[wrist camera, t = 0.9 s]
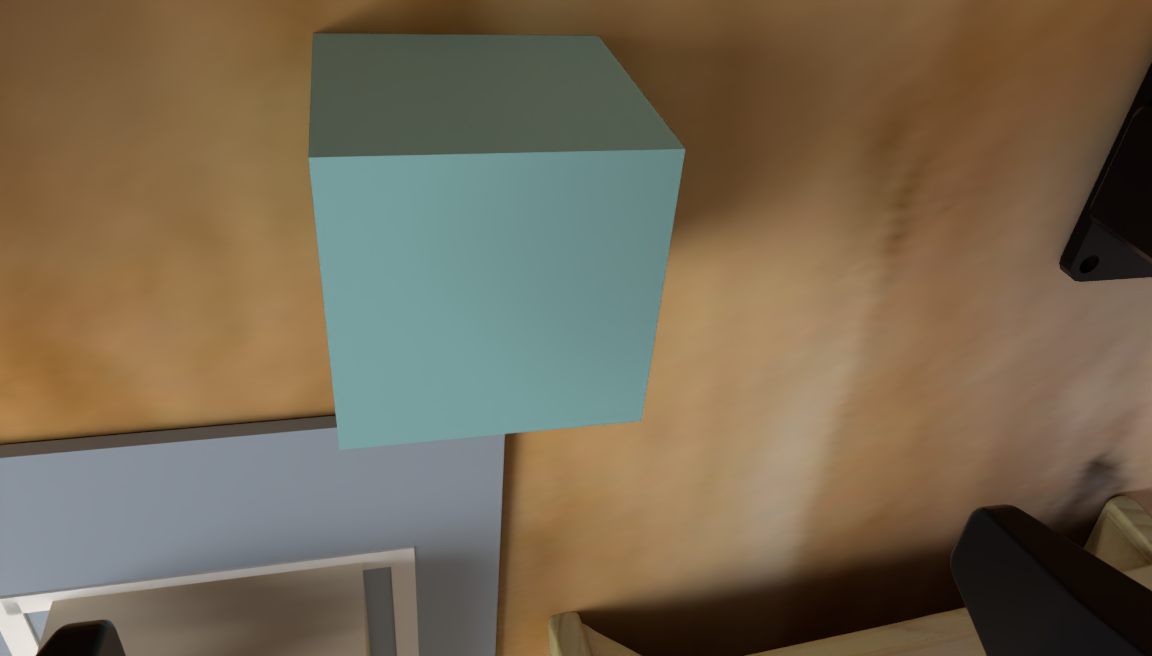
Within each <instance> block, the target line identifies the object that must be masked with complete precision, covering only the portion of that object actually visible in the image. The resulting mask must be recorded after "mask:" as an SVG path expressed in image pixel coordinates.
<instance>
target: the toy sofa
mask: <svg viewBox="0 0 1152 656" xmlns="http://www.w3.org/2000/svg"><path fill="white" fill-rule="evenodd" d="M1084 549H1085V550H1087V551H1088V552H1090V553H1092V554H1093V555H1095V556H1096V557H1098V558H1100V559H1101V560H1103V561H1105V562H1106V563H1108V564H1109V565H1111V566H1113V567H1114V568H1116V569H1117V570H1119V571H1121V572H1122V573H1124V574H1126V575H1127V576H1129V577H1130V578H1132V579H1134V580H1135V581H1137V582H1138V583H1140V584H1142V585H1143V586H1145V587H1147V588H1148V589H1150V590H1151V591H1152V517H1151V516H1150V515H1149V514H1148V513H1147V512H1146V511H1145V509H1144V508H1143V507H1142V506H1141V505H1140V504H1139V503H1138V502H1136V501H1135V500H1133V499H1132V498H1130V497H1127V496H1117V497H1114V498H1112V499H1110V500H1109V501H1108V502H1107V503H1106V504H1105V506H1104V508H1103V510H1102V512H1101V514H1100V516H1099V518H1098V520H1097V522H1096V524H1095V526H1094V528H1093V530H1092V532H1091V534H1090V536H1089V538H1088V540H1087V542H1086V544H1085V546H1084ZM548 632H549V644H550V656H641V655H640V654H638V653H636V652H634V651H632V650H630V649H628V648H626V647H625V646H623V645H621V644H619V643H617V642H615V641H613V640H611V639H609V638H607V637H605V636H603V635H601V634H600V633H598V632H596V631H594V630H593V629H591V628H590V627H588V626H587V625H585V624H582V622H581V620H580V617H579V615H578V613H577V612H567V613H562V614H557V615H554V616H551V617H550V619H549V620H548ZM746 656H986V653H985V651H984V649H983V646H982V644H981V641H980V639H979V637H978V634H977V632H976V630H975V627H974V625H973V622H972V620H971V618H970V615H969V613H968V611H967V608H961V609H956V610H952V611H947V612H942V613H937V614H933V615H928V616H924V617H920V618H916V619H912V620H908V621H903V622H899V623H894V624H890V625H885V626H880V627H876V628H871V629H867V630H862V631H858V632H853V633H848V634H844V635H839V636H834V637H830V638H825V639H820V640H816V641H811V642H807V643H802V644H797V645H793V646H788V647H783V648H779V649H774V650H769V651H765V652H760V653H755V654H751V655H746Z"/></svg>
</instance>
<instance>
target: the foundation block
mask: <svg viewBox="0 0 1152 656" xmlns="http://www.w3.org/2000/svg"><path fill="white" fill-rule="evenodd" d="M101 619H107V620H109V621H111V622H112V623H113V624H114V626H115V628H116V630H117V633H118V635H119V638H120V641H121V643H122V646H123V649H124V652H125V654H126V656H371V651H370V641H369V630H368V620H367V609H366V599H365V588H364V578H363V567H362V562H361V563H353V564H346V565H338V566H330V567H322V568H314V569H306V570H298V571H290V572H282V573H274V574H266V575H258V576H250V577H242V578H234V579H226V580H218V581H210V582H202V583H194V584H186V585H178V586H170V587H162V588H154V589H146V590H138V591H130V592H123V593H115V594H107V595H99V596H91V597H83V598H75V599H67V600H59V601H52V604H51V607H50V611H49V614H48V618H47V621H46V624H45V628H44V631H43V635H42V638H41V641H40V645H39V648H38V651H37V653H38V652H39V651H40V649H41V648H42V647H43V646H44V644H45V643H46V642H47V641H48V639H49V638H50V637H51V636H52V635H53V633H54V632H55V631H56V630H58V629H59V628H60V627H62V626H64V625H66V624H70V623H77V622H85V621H93V620H101Z"/></svg>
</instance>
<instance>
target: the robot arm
mask: <svg viewBox="0 0 1152 656" xmlns="http://www.w3.org/2000/svg"><path fill="white" fill-rule="evenodd" d="M1059 264H1060V269H1061V270H1062V271H1063V272H1065V273H1066V274H1067V275H1068V276H1069V277H1071V278H1072V279H1073V280H1074V281H1079V282H1084V281H1099V280H1114V279H1129V278H1144V277H1152V63H1151V65H1150V67H1149V69H1148V71H1147V74H1146V76H1145V78H1144V80H1143V82H1142V84H1141V86H1140V89H1139V91H1138V93H1137V95H1136V97H1135V99H1134V102H1133V104H1132V106H1131V108H1130V110H1129V112H1128V114H1127V117H1126V119H1125V121H1124V123H1123V125H1122V127H1121V129H1120V132H1119V134H1118V136H1117V138H1116V140H1115V142H1114V144H1113V147H1112V149H1111V151H1110V153H1109V155H1108V157H1107V159H1106V162H1105V164H1104V166H1103V168H1102V170H1101V172H1100V175H1099V177H1098V179H1097V181H1096V183H1095V185H1094V187H1093V190H1092V192H1091V194H1090V196H1089V198H1088V200H1087V202H1086V205H1085V207H1084V209H1083V211H1082V213H1081V215H1080V217H1079V220H1078V222H1077V224H1076V226H1075V228H1074V230H1073V233H1072V235H1071V237H1070V239H1069V241H1068V243H1067V245H1066V248H1065V250H1064V252H1063V254H1062V256H1061V259H1060V263H1059ZM950 562H951V570H952V574H953V577H954V580H955V582H956V584H957V587H958V589H959V592H960V594H961V596H962V599H963V601H964V603H965V606H966V608H967V611H968V613H969V615H970V618H971V620H972V622H973V625H974V627H975V630H976V632H977V634H978V637H979V639H980V641H981V644H982V646H983V649H984V651H985V653H986V656H1152V591H1151V590H1150V589H1148V588H1147V587H1145V586H1143V585H1142V584H1140V583H1138V582H1137V581H1135V580H1134V579H1132V578H1130V577H1129V576H1127V575H1126V574H1124V573H1122V572H1121V571H1119V570H1117V569H1116V568H1114V567H1113V566H1111V565H1109V564H1108V563H1106V562H1105V561H1103V560H1101V559H1100V558H1098V557H1096V556H1095V555H1093V554H1092V553H1090V552H1088V551H1087V550H1085V549H1084V548H1082V547H1080V546H1079V545H1077V544H1075V543H1074V542H1072V541H1071V540H1069V539H1067V538H1066V537H1064V536H1063V535H1061V534H1059V533H1058V532H1056V531H1054V530H1053V529H1051V528H1050V527H1048V526H1046V525H1045V524H1043V523H1042V522H1040V521H1038V520H1037V519H1035V518H1033V517H1032V516H1030V515H1029V514H1027V513H1025V512H1024V511H1022V510H1020V509H1019V508H1017V507H1015V506H1012V505H994V506H987V507H980V508H977V509H976V510H974V511H973V512H972V513H971V515H970V517H969V519H968V521H967V523H966V525H965V527H964V529H963V531H962V533H961V535H960V537H959V539H958V541H957V543H956V545H955V547H954V549H953V551H952V554H951V560H950ZM36 656H126V654H125V652H124V649H123V646H122V643H121V641H120V638H119V635H118V633H117V630H116V628H115V626H114V624H113V623H112V622H111V621H109V620H107V619H101V620H93V621H85V622H77V623H70V624H66V625H64V626H62V627H60V628H59V629H58V630H56V631H55V632H54V633H53V635H52V636H51V637H50V638H49V639H48V641H47V642H46V643H45V644H44V646H43V647H42V648H41V649H40V651H39V652H38V653H37V654H36Z"/></svg>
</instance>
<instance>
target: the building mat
mask: <svg viewBox="0 0 1152 656" xmlns="http://www.w3.org/2000/svg"><path fill="white" fill-rule="evenodd" d="M504 442H505V434H500V435H490V436H479V437H469V438H459V439H448V440H438V441H427V442H417V443H407V444H396V445H386V446H375V447H365V448H355V449H344V450H339V441H338V432H337V422H336V416H326V417H315V418H303V419H292V420H280V421H269V422H258V423H246V424H235V425H224V426H212V427H201V428H189V429H178V430H167V431H155V432H144V433H132V434H121V435H110V436H98V437H87V438H76V439H64V440H53V441H41V442H30V443H19V444H7V445H0V656H36V654H37V651H38V648H39V645H40V641H41V638H42V635H43V631H44V628H45V624H46V621H47V618H48V614H49V611H50V607H51V604H52V601H59V600H67V599H75V598H83V597H91V596H99V595H107V594H115V593H123V592H130V591H138V590H146V589H154V588H162V587H170V586H178V585H186V584H194V583H202V582H210V581H218V580H226V579H234V578H242V577H250V576H258V575H266V574H274V573H282V572H290V571H298V570H306V569H314V568H322V567H330V566H338V565H346V564H353V563H361V562H362V567H363V578H364V588H365V599H366V609H367V620H368V630H369V641H370V651H371V656H495V651H496V628H497V604H498V581H499V558H500V535H501V512H502V488H503V465H504Z"/></svg>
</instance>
